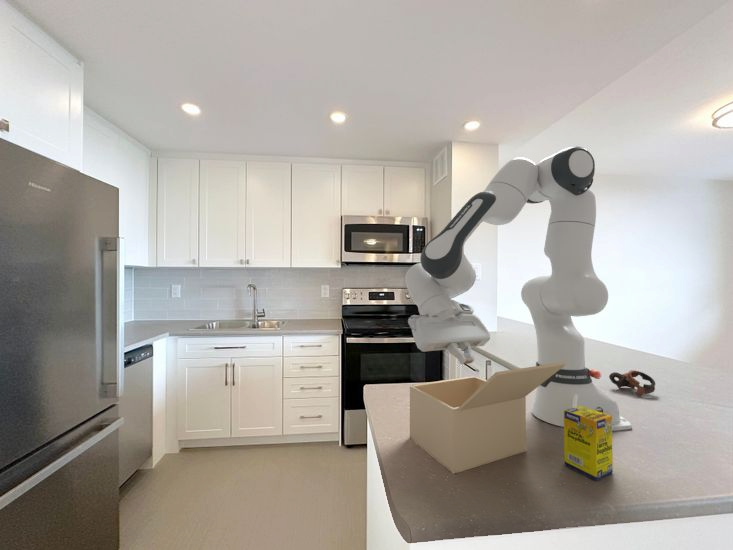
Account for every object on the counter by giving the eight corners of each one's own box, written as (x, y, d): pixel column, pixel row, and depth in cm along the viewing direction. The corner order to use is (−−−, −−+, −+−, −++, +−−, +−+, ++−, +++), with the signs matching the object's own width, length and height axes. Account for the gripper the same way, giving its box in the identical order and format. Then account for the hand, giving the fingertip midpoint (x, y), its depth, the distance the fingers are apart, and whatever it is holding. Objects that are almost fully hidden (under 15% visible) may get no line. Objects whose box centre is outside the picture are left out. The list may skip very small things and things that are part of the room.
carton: (473, 422, 80) (473, 375, 81) (526, 451, 66) (525, 394, 67) (408, 437, 72) (408, 385, 72) (453, 474, 58) (453, 409, 58)
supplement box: (597, 482, 56) (596, 421, 56) (563, 465, 61) (562, 409, 62) (614, 473, 59) (612, 415, 59) (580, 457, 64) (579, 404, 64)
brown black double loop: (642, 390, 109) (654, 373, 105) (650, 410, 102) (663, 393, 98) (602, 377, 114) (612, 360, 110) (607, 395, 106) (617, 378, 102)
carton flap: (564, 362, 58) (566, 364, 58) (522, 395, 66) (523, 397, 66) (495, 372, 51) (497, 374, 50) (457, 408, 59) (458, 411, 58)
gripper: (410, 307, 71) (437, 358, 62) (476, 306, 80) (507, 350, 71) (400, 324, 75) (423, 374, 66) (463, 321, 84) (492, 365, 75)
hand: (468, 362), depth 69 cm, fingers closed
